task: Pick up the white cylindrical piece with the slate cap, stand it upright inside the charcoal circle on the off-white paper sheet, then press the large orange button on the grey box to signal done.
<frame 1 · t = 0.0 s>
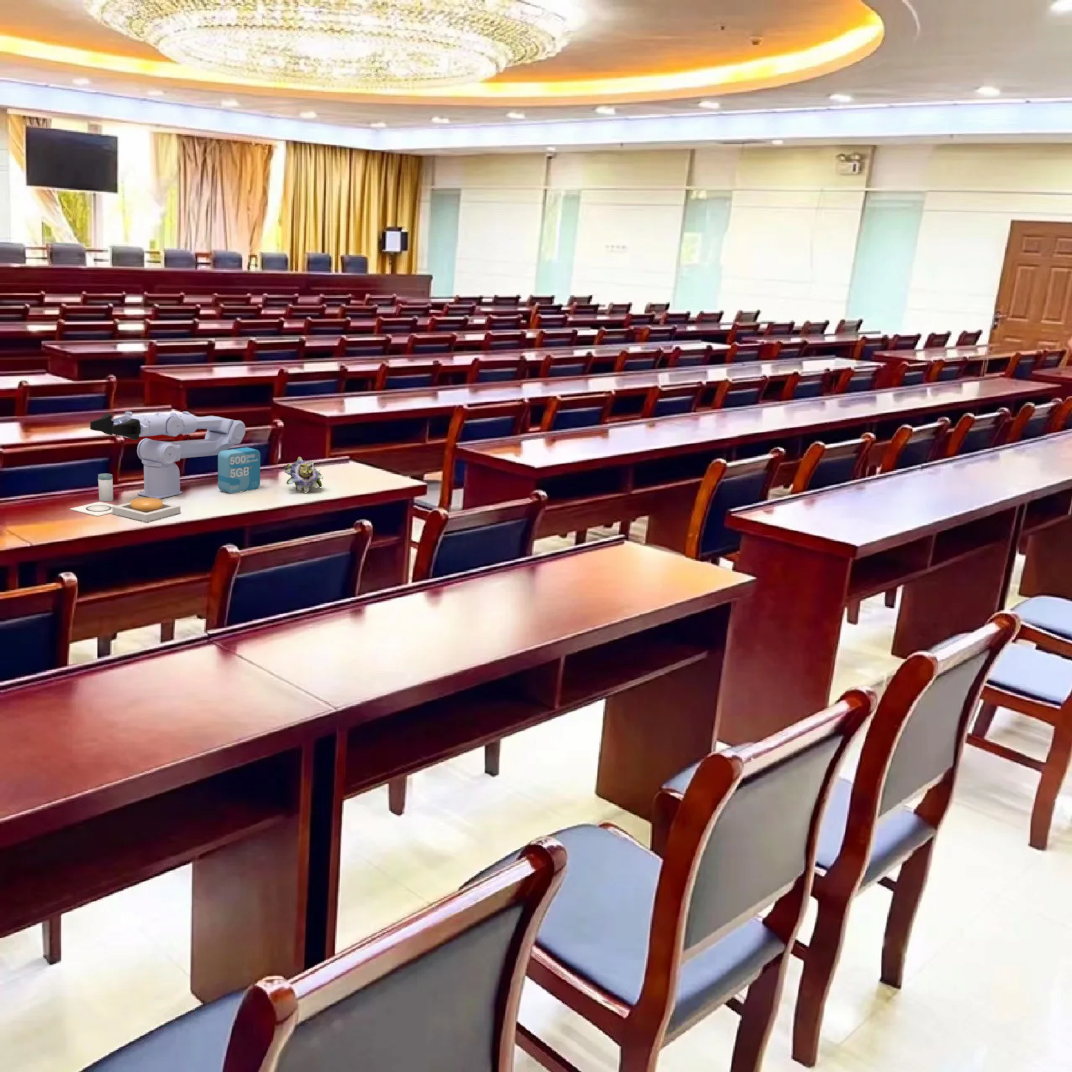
hand: (101, 427, 272), 22 cm above the table, tool horizontal, fingers open, 7 cm apart
white cylindrical piece: (106, 499, 286), on the table
button box: (146, 513, 276), on the table
paper sheet: (98, 509, 276), on the table
passion flower: (302, 490, 314), on the table
done button: (146, 504, 275), point 3 cm above the table, slide at 0.0 cm
data package: (239, 490, 307), on the table
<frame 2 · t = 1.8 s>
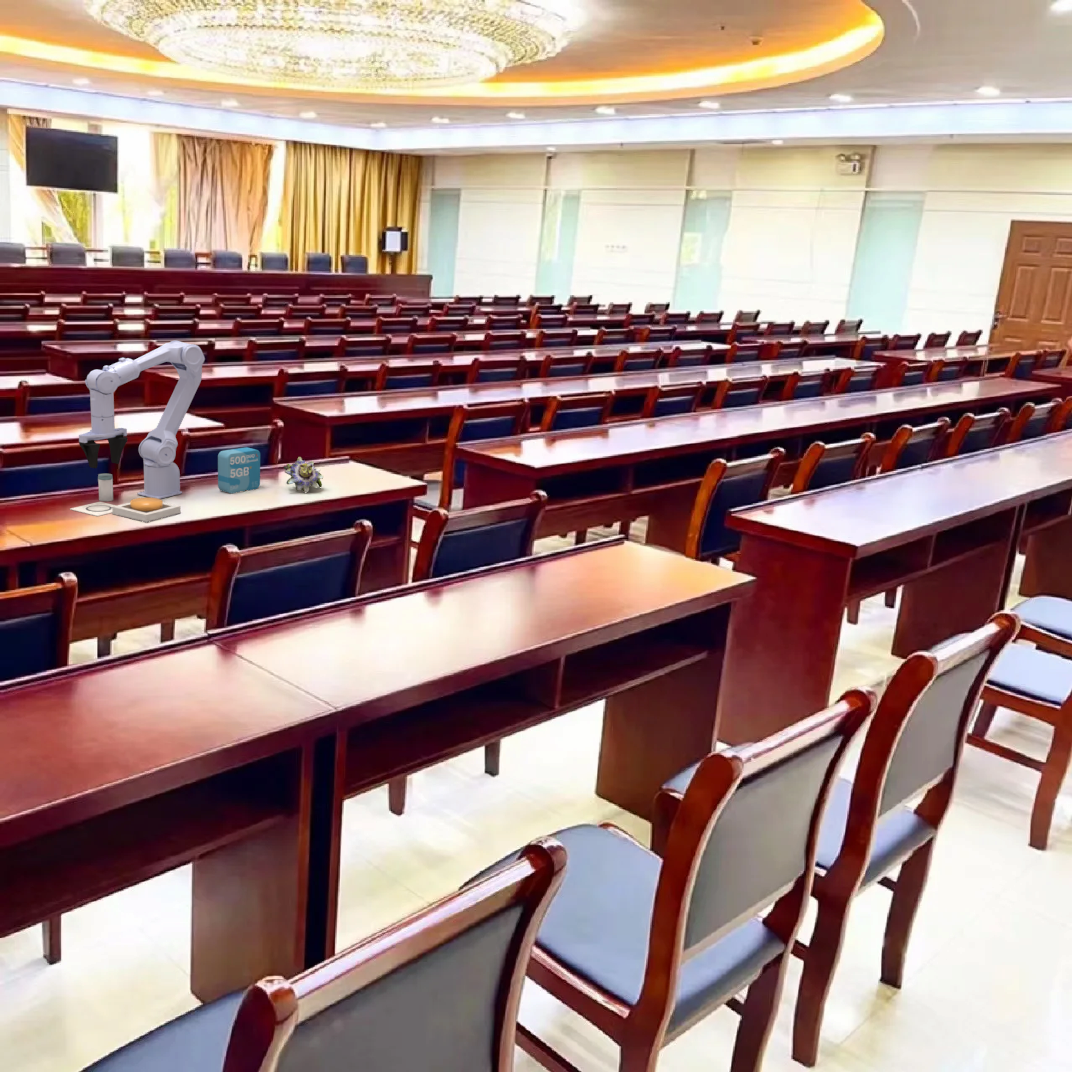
hand: (104, 465, 280), 10 cm above the table, tool pointing down, fingers open, 7 cm apart
nothing on the table moved.
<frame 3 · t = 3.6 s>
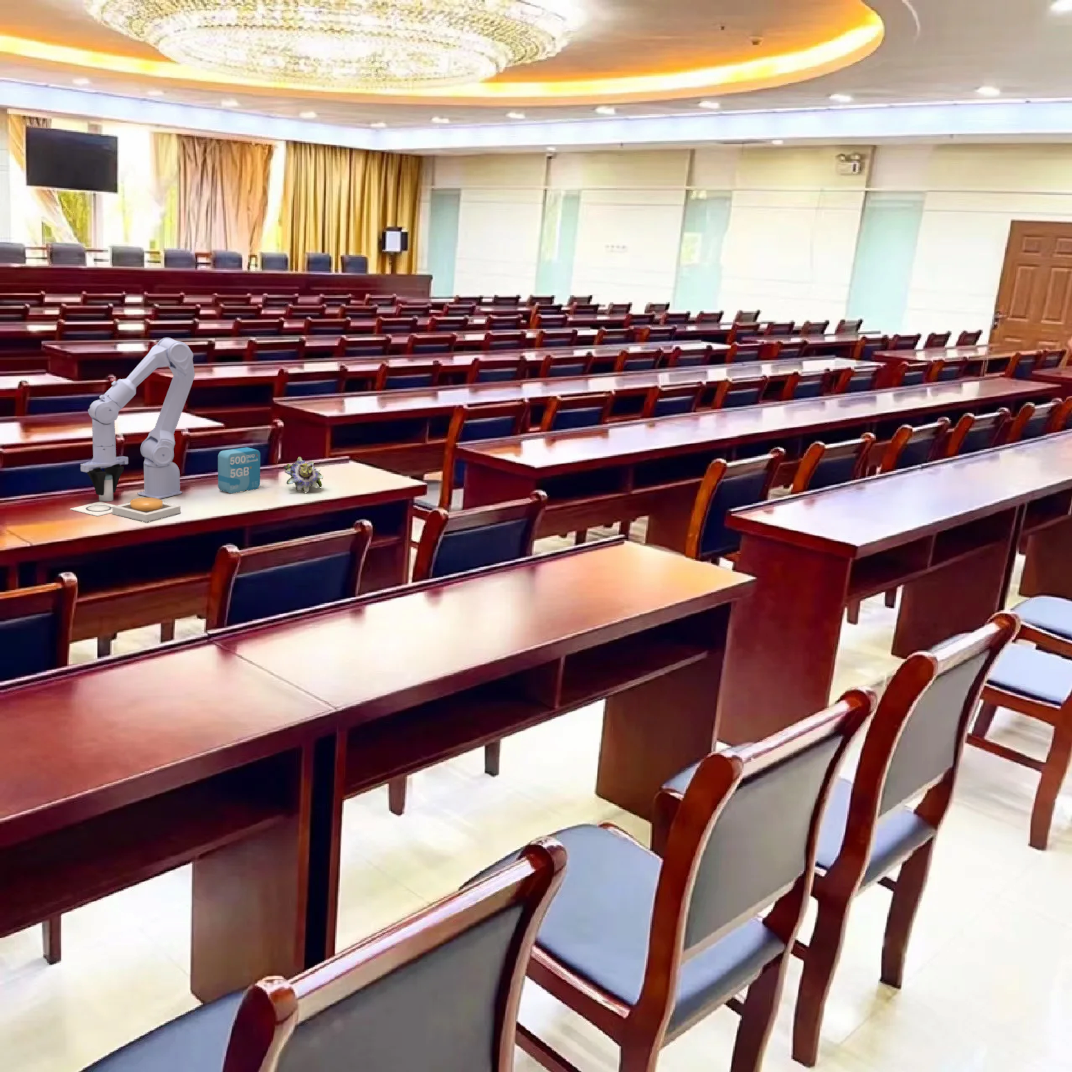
hand: (105, 493, 285), 2 cm above the table, tool pointing down, fingers closed on white cylindrical piece, 4 cm apart
white cylindrical piece: (106, 499, 286), on the table, touching gripper
everything else where it was.
when the fingers open (3 cm above the table, at t = 6.8 s): white cylindrical piece drops 1 cm, resting on paper sheet.
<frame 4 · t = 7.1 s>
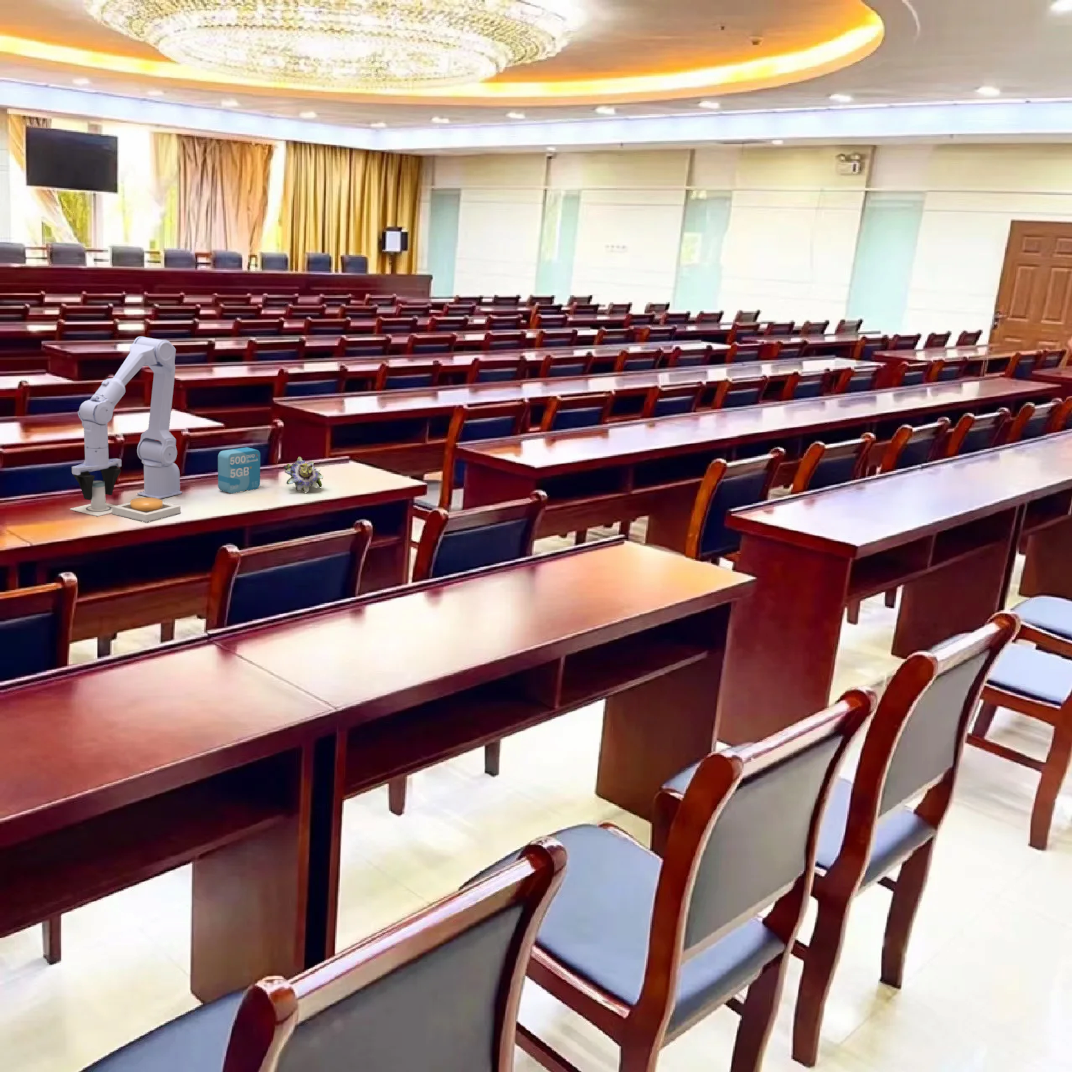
hand: (98, 496, 275), 3 cm above the table, tool pointing down, fingers open, 6 cm apart
white cylindrical piece: (98, 507, 276), resting on paper sheet
everything else where it was.
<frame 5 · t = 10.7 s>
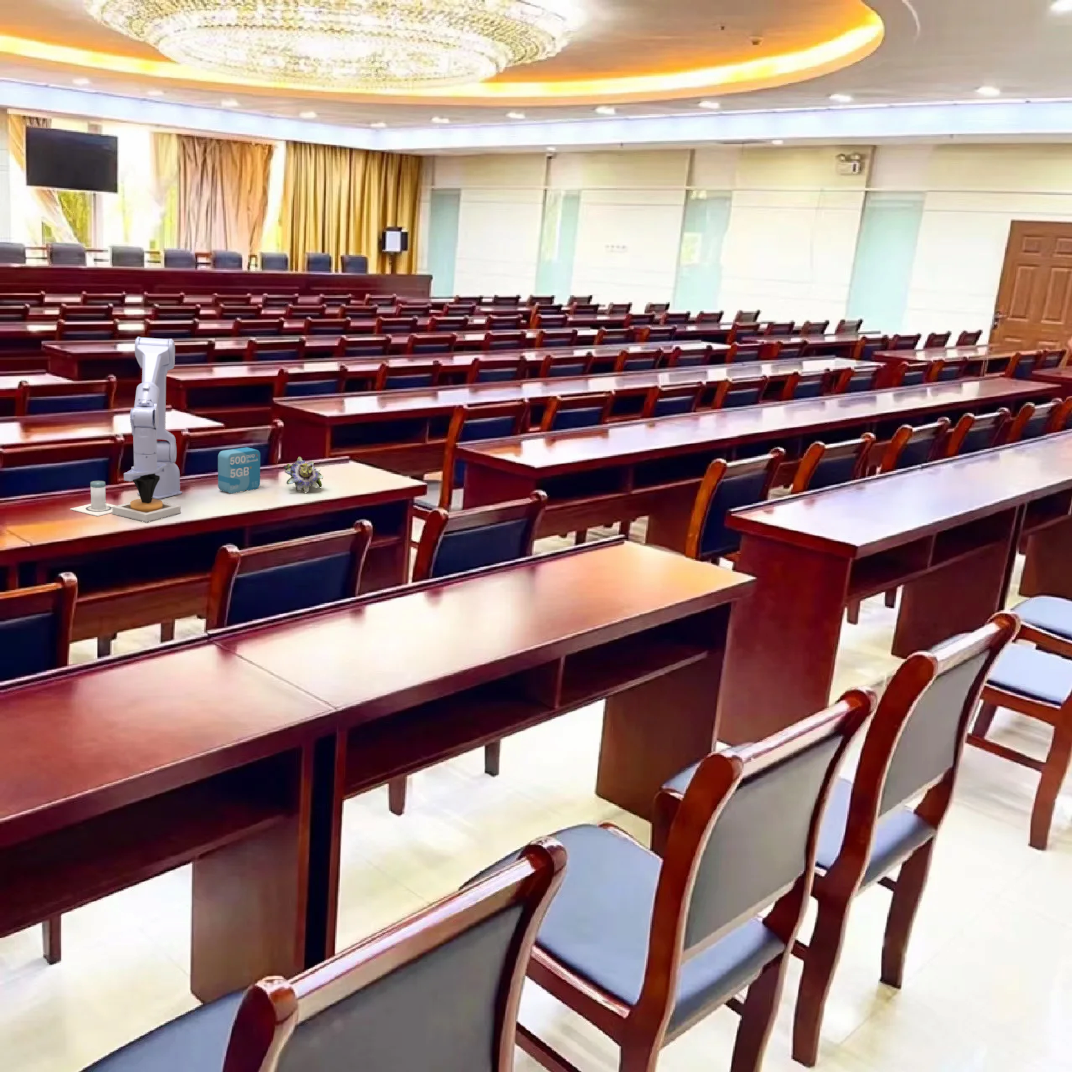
hand: (146, 502, 275), 3 cm above the table, tool pointing down, fingers closed, pressing on done button
done button: (146, 505, 275), point 2 cm above the table, slide at 0.3 cm, touching gripper
everything else where it was.
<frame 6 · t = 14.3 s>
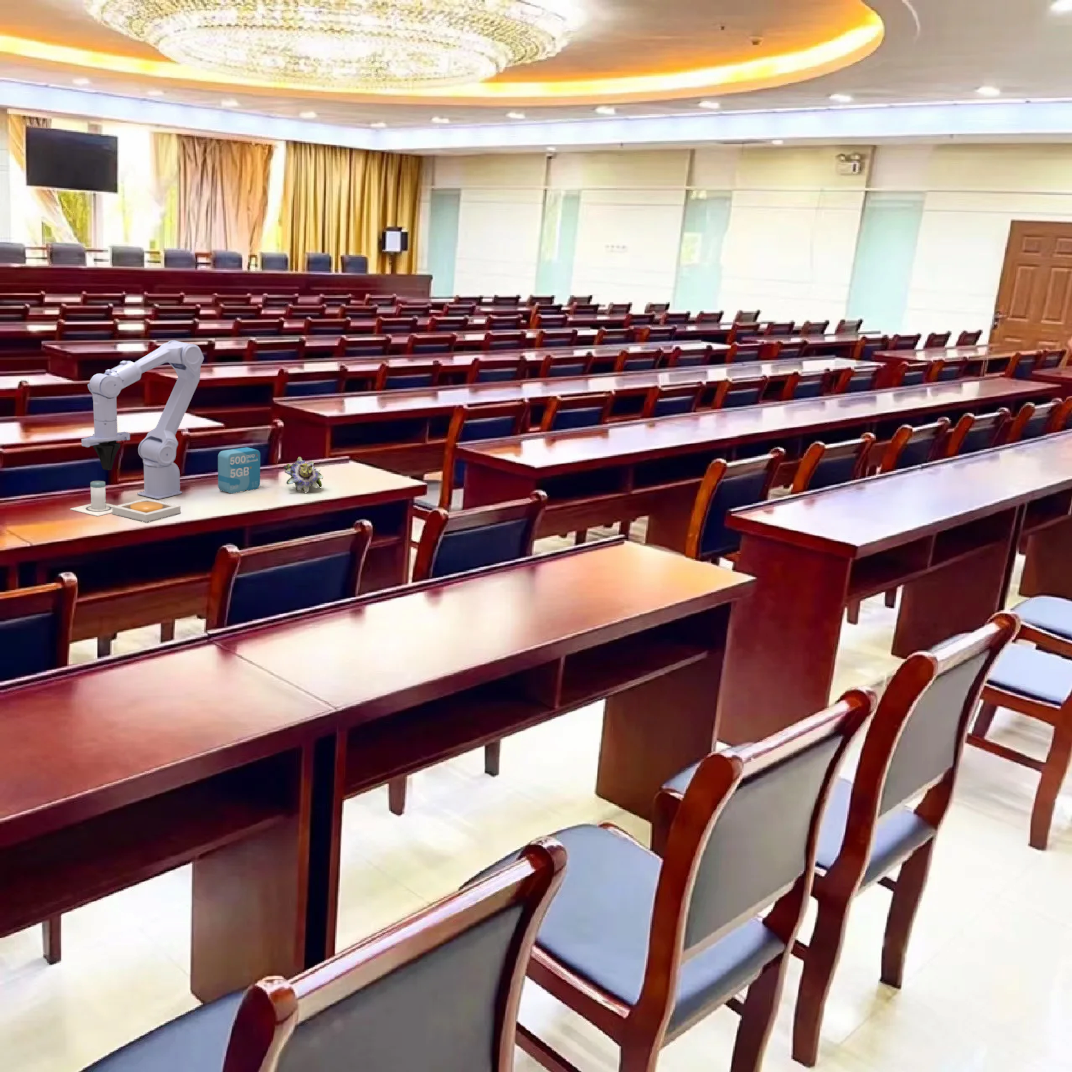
hand: (107, 469, 280), 9 cm above the table, tool pointing down, fingers closed
done button: (146, 508, 275), point 1 cm above the table, slide at 1.1 cm
everything else where it was.
at the end: white cylindrical piece 0.1 cm off-centre on the paper sheet, point 0.3 cm above the paper sheet's base; white cylindrical piece tilted 0°; done button slide at 1.1 cm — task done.
